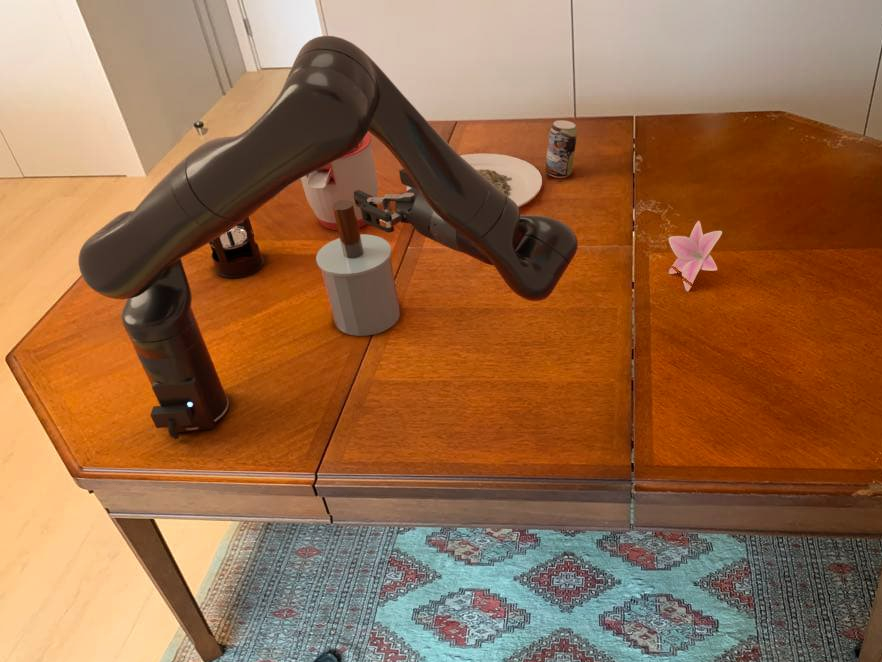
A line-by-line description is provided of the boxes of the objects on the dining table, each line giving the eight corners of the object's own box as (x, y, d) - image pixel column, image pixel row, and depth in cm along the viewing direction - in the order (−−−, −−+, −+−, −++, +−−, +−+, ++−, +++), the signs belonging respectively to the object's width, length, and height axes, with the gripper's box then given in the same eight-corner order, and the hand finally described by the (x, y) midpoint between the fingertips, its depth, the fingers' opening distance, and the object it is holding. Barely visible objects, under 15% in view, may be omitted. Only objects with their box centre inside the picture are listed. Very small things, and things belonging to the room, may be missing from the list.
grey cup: (399, 332, 141) (388, 271, 133) (333, 339, 140) (317, 278, 132) (400, 295, 150) (389, 235, 141) (337, 301, 149) (322, 242, 141)
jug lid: (391, 275, 133) (381, 220, 126) (314, 283, 132) (299, 227, 125) (392, 237, 142) (382, 183, 135) (320, 244, 141) (307, 190, 134)
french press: (248, 282, 155) (212, 170, 139) (204, 278, 156) (163, 167, 141) (276, 250, 163) (244, 141, 148) (233, 247, 165) (198, 138, 150)
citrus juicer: (294, 237, 167) (269, 145, 154) (330, 198, 179) (309, 109, 166) (364, 244, 164) (345, 150, 150) (395, 203, 176) (380, 113, 163)
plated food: (557, 166, 187) (557, 153, 185) (520, 231, 165) (519, 216, 163) (436, 156, 194) (434, 142, 191) (386, 216, 172) (383, 202, 170)
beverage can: (541, 172, 185) (539, 121, 177) (569, 165, 187) (569, 114, 179) (552, 183, 181) (551, 131, 173) (582, 176, 183) (582, 124, 175)
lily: (667, 259, 157) (653, 230, 150) (726, 237, 154) (714, 206, 146) (680, 308, 151) (665, 280, 144) (741, 286, 148) (730, 257, 140)
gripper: (487, 175, 112) (412, 145, 121) (409, 214, 105) (334, 179, 114) (491, 223, 117) (419, 191, 126) (417, 264, 110) (345, 227, 119)
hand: (379, 185), depth 120 cm, fingers open, 8 cm apart
